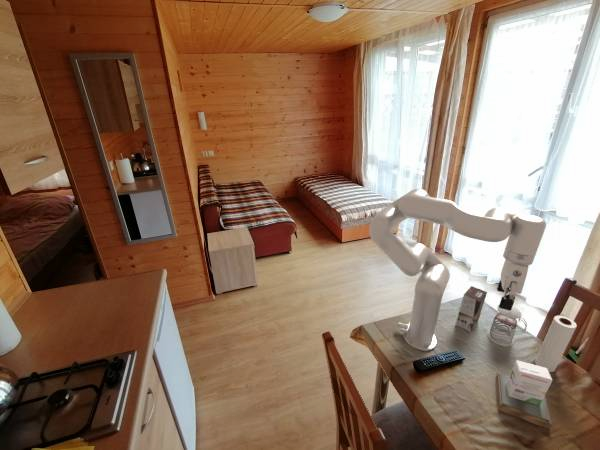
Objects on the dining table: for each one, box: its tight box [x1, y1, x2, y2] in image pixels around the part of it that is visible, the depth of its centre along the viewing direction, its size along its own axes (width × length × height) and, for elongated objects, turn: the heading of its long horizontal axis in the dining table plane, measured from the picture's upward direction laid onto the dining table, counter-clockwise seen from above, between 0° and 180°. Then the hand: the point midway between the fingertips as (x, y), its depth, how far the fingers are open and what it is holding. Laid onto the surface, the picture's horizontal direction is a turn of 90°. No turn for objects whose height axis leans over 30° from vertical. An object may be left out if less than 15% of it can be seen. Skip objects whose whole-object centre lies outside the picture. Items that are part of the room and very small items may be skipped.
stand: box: [495, 372, 552, 430], centre depth 97 cm, size 13×13×3 cm
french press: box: [485, 305, 528, 347], centre depth 117 cm, size 10×12×25 cm
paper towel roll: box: [534, 311, 577, 373], centre depth 105 cm, size 7×6×21 cm
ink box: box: [506, 359, 553, 405], centre depth 94 cm, size 8×5×12 cm, turn 68°
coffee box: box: [455, 285, 488, 333], centre depth 126 cm, size 9×6×16 cm
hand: (503, 299), depth 97 cm, fingers open, 9 cm apart
